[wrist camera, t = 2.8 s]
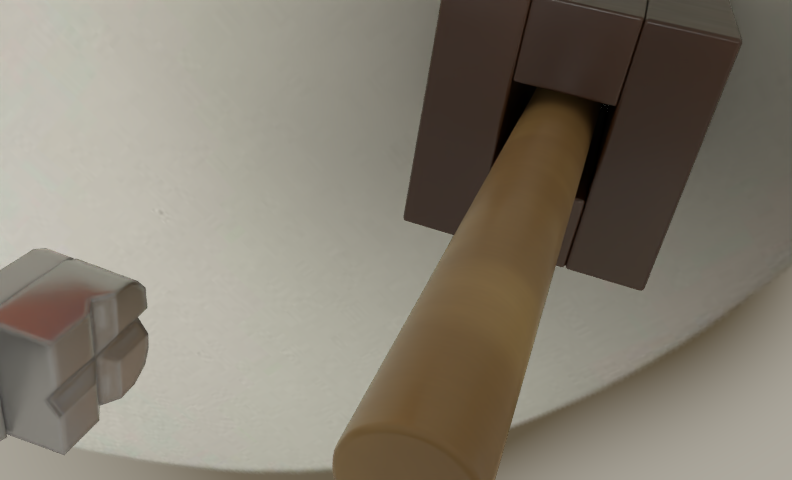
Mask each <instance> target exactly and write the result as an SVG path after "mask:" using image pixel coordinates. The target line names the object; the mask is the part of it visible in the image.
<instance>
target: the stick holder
mask: <svg viewBox="0 0 792 480" xmlns="http://www.w3.org/2000/svg"><path fill="white" fill-rule="evenodd" d="M741 44H742V39H741V36H740V33H739V30H738V27H737V23H736V20H735V17H734V14H733V11H732V8H731V4H730V1H729V0H441V4H440V10H439V15H438V21H437V27H436V33H435V38H434V44H433V50H432V56H431V61H430V67H429V73H428V79H427V84H426V90H425V96H424V102H423V107H422V113H421V119H420V125H419V130H418V136H417V142H416V148H415V153H414V159H413V165H412V171H411V176H410V182H409V188H408V194H407V199H406V205H405V211H404V220H405V221H409V222H412V223H415V224H419V225H422V226H425V227H429V228H432V229H436V230H439V231H442V232H446V233H449V234H452V235H454V234H455V233H456V231H457V229H458V227H459V225H460V224H461V222H462V220H463V218H464V217H465V215H466V213H467V211H468V209H469V208H470V206H471V204H472V202H473V200H474V199H475V197H476V195H477V193H478V192H479V190H480V188H481V186H482V184H483V183H484V181H485V179H486V177H487V176H488V174H489V172H490V170H491V168H492V167H493V165H494V163H495V161H496V159H497V158H498V156H499V154H500V152H501V151H502V149H503V147H504V145H505V143H506V142H507V140H508V138H509V136H510V134H511V133H512V131H513V129H514V127H515V126H516V124H517V122H518V120H519V118H520V117H521V115H522V113H523V111H524V109H525V108H526V106H527V104H528V102H529V101H530V99H531V97H532V95H533V93H534V92H535V90H536V88H537V87H539V88H543V89H547V90H551V91H555V92H559V93H563V94H567V95H571V96H575V97H579V98H583V99H587V100H591V101H595V102H600V103H604V104H608V105H610V108H609V112H607V111H606V110H602V109H600V111H599V115H598V118H597V122H596V125H595V129H594V133H593V136H592V140H591V143H590V147H589V150H588V154H587V157H586V161H585V164H584V168H583V171H582V175H581V178H580V182H579V185H578V189H577V192H576V196H575V200H574V203H573V207H572V210H571V214H570V217H569V221H568V224H567V228H566V231H565V235H564V238H563V242H562V245H561V249H560V252H559V256H558V259H557V263H556V266H559V267H564V266H565V265H566V268H567V269H570V270H573V271H576V272H580V273H583V274H586V275H590V276H593V277H596V278H600V279H603V280H607V281H610V282H613V283H617V284H620V285H623V286H627V287H630V288H633V289H637V290H643V289H644V288H645V285H646V283H647V280H648V278H649V275H650V273H651V270H652V268H653V265H654V263H655V260H656V258H657V255H658V253H659V250H660V248H661V245H662V243H663V240H664V238H665V235H666V233H667V230H668V228H669V225H670V223H671V220H672V218H673V215H674V213H675V210H676V208H677V205H678V203H679V200H680V197H681V195H682V192H683V190H684V187H685V185H686V182H687V180H688V177H689V175H690V172H691V170H692V167H693V165H694V162H695V160H696V157H697V155H698V152H699V150H700V147H701V145H702V142H703V140H704V137H705V135H706V132H707V130H708V127H709V125H710V122H711V120H712V117H713V115H714V112H715V110H716V107H717V105H718V102H719V100H720V97H721V95H722V92H723V90H724V87H725V85H726V82H727V80H728V77H729V75H730V72H731V70H732V67H733V65H734V62H735V59H736V57H737V54H738V52H739V49H740V47H741Z"/></svg>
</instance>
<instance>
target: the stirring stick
mask: <svg viewBox="0 0 792 480" xmlns="http://www.w3.org/2000/svg"><path fill="white" fill-rule="evenodd" d="M601 104H602V103H600V102H595V101H591V100H587V99H583V98H579V97H575V96H571V95H567V94H563V93H559V92H555V91H551V90H547V89H543V88H539V87H537V88H536V90H535V92H534V93H533V95H532V97H531V99H530V101H529V102H528V104H527V106H526V108H525V109H524V111H523V113H522V115H521V117H520V118H519V120H518V122H517V124H516V126H515V127H514V129H513V131H512V133H511V134H510V136H509V138H508V140H507V142H506V143H505V145H504V147H503V149H502V151H501V152H500V154H499V156H498V158H497V159H496V161H495V163H494V165H493V167H492V168H491V170H490V172H489V174H488V176H487V177H486V179H485V181H484V183H483V184H482V186H481V188H480V190H479V192H478V193H477V195H476V197H475V199H474V200H473V202H472V204H471V206H470V208H469V209H468V211H467V213H466V215H465V217H464V218H463V220H462V222H461V224H460V225H459V227H458V229H457V231H456V233H455V234H454V236H453V238H452V240H451V242H450V243H449V245H448V247H447V249H446V250H445V252H444V254H443V256H442V258H441V259H440V261H439V263H438V265H437V266H436V268H435V270H434V272H433V274H432V275H431V277H430V279H429V281H428V283H427V284H426V286H425V288H424V290H423V291H422V293H421V295H420V297H419V299H418V300H417V302H416V304H415V306H414V308H413V309H412V311H411V313H410V315H409V316H408V318H407V320H406V322H405V324H404V325H403V327H402V329H401V331H400V333H399V334H398V336H397V338H396V340H395V341H394V343H393V345H392V347H391V349H390V350H389V352H388V354H387V356H386V357H385V359H384V361H383V363H382V365H381V366H380V368H379V370H378V372H377V374H376V375H375V377H374V379H373V381H372V382H371V384H370V386H369V388H368V390H367V391H366V393H365V395H364V397H363V399H362V400H361V402H360V404H359V406H358V407H357V409H356V411H355V413H354V415H353V416H352V418H351V420H350V422H349V423H348V425H347V427H346V429H345V431H344V432H343V434H342V436H341V438H340V440H339V441H338V443H337V445H336V448H335V450H334V454H333V476H334V480H495V478H496V475H497V471H498V468H499V464H500V460H501V457H502V453H503V450H504V446H505V443H506V439H507V436H508V432H509V429H510V425H511V422H512V418H513V415H514V411H515V408H516V404H517V401H518V397H519V393H520V390H521V386H522V383H523V379H524V376H525V372H526V369H527V365H528V362H529V358H530V355H531V351H532V348H533V344H534V341H535V337H536V334H537V330H538V326H539V323H540V319H541V316H542V312H543V309H544V305H545V302H546V298H547V295H548V291H549V288H550V284H551V281H552V277H553V274H554V270H555V267H556V263H557V259H558V256H559V252H560V249H561V245H562V242H563V238H564V235H565V231H566V228H567V224H568V221H569V217H570V214H571V210H572V207H573V203H574V200H575V196H576V192H577V189H578V185H579V182H580V178H581V175H582V171H583V168H584V164H585V161H586V157H587V154H588V150H589V147H590V143H591V140H592V136H593V133H594V129H595V125H596V122H597V118H598V115H599V111H600V108H601Z"/></svg>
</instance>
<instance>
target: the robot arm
mask: <svg viewBox="0 0 792 480" xmlns="http://www.w3.org/2000/svg"><path fill="white" fill-rule="evenodd" d="M146 309H147V300H146V288H145V287H144V286H143V285H142V284H140V283H139V282H138V281H136V280H133V279H130V278H128V277H125V276H122V275H120V274H117V273H114V272H111V271H109V270H106V269H103V268H101V267H98V266H95V265H92V264H90V263H87V262H84V261H81V260H79V259H73V258H71V257H68V256H66V255H63V254H60V253H58V252H55V251H52V250H50V249H47V248H43V249H33V250H31V251H30V252H28V253H27V254H25V255H24V256H22V257H20V258H19V259H17V260H16V261H14V262H12V263H11V264H9V265H8V266H6V267H4V268H3V269H1V270H0V441H1V440H3V439H5V438H6V437H7V434H8V435H11V436H14V437H16V438H19V439H22V440H24V441H27V442H30V443H33V444H35V445H38V446H41V447H43V448H46V449H49V450H52V451H54V452H57V453H60V454H62V455H65V454H66V453H67V452H68V451H69V450H70V449H71V448H72V447H73V446H74V445H75V444H76V443H77V442H78V441H79V440H80V439H81V438H82V437H83V436H84V435H85V434H86V433H87V432H88V431H89V430H90V429H91V428H92V427H93V426H94V425H95V424H96V423H97V422H98V421H99V413H100V405H103V404H106V403H109V402H112V401H114V400H117V399H120V398H122V397H123V396H124V395H125V393H126V392H127V391H128V390H129V389H130V388H131V387H132V386H133V385H134V384H135V382H136V380H137V378H138V377H139V375H140V373H141V371H142V369H143V367H144V365H145V362H146V357H147V353H148V333H147V331H146V330H145V328H144V326H143V325H142V323H141V322H140V320H139V318H138V317H139V316H140V315H141V314H142V313H143V312H144V311H145V310H146Z"/></svg>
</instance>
